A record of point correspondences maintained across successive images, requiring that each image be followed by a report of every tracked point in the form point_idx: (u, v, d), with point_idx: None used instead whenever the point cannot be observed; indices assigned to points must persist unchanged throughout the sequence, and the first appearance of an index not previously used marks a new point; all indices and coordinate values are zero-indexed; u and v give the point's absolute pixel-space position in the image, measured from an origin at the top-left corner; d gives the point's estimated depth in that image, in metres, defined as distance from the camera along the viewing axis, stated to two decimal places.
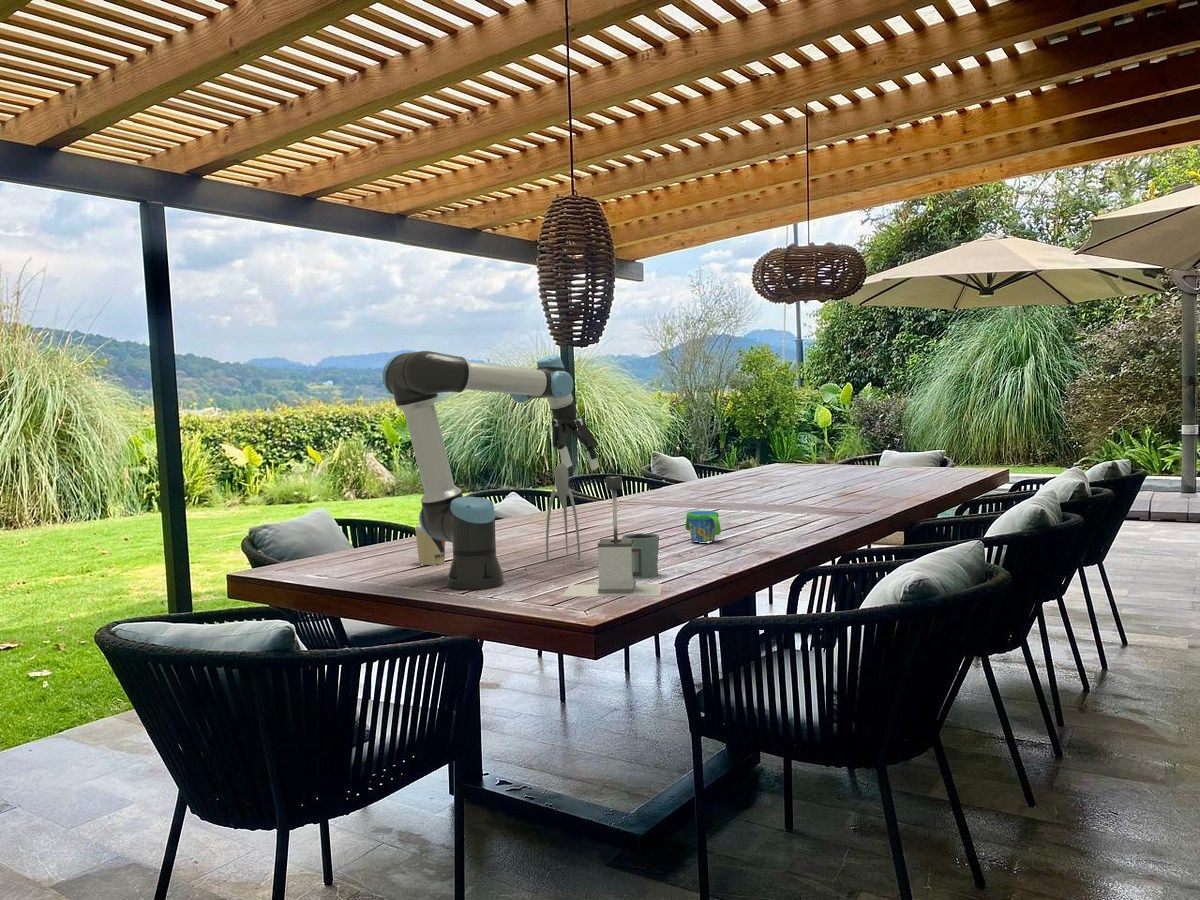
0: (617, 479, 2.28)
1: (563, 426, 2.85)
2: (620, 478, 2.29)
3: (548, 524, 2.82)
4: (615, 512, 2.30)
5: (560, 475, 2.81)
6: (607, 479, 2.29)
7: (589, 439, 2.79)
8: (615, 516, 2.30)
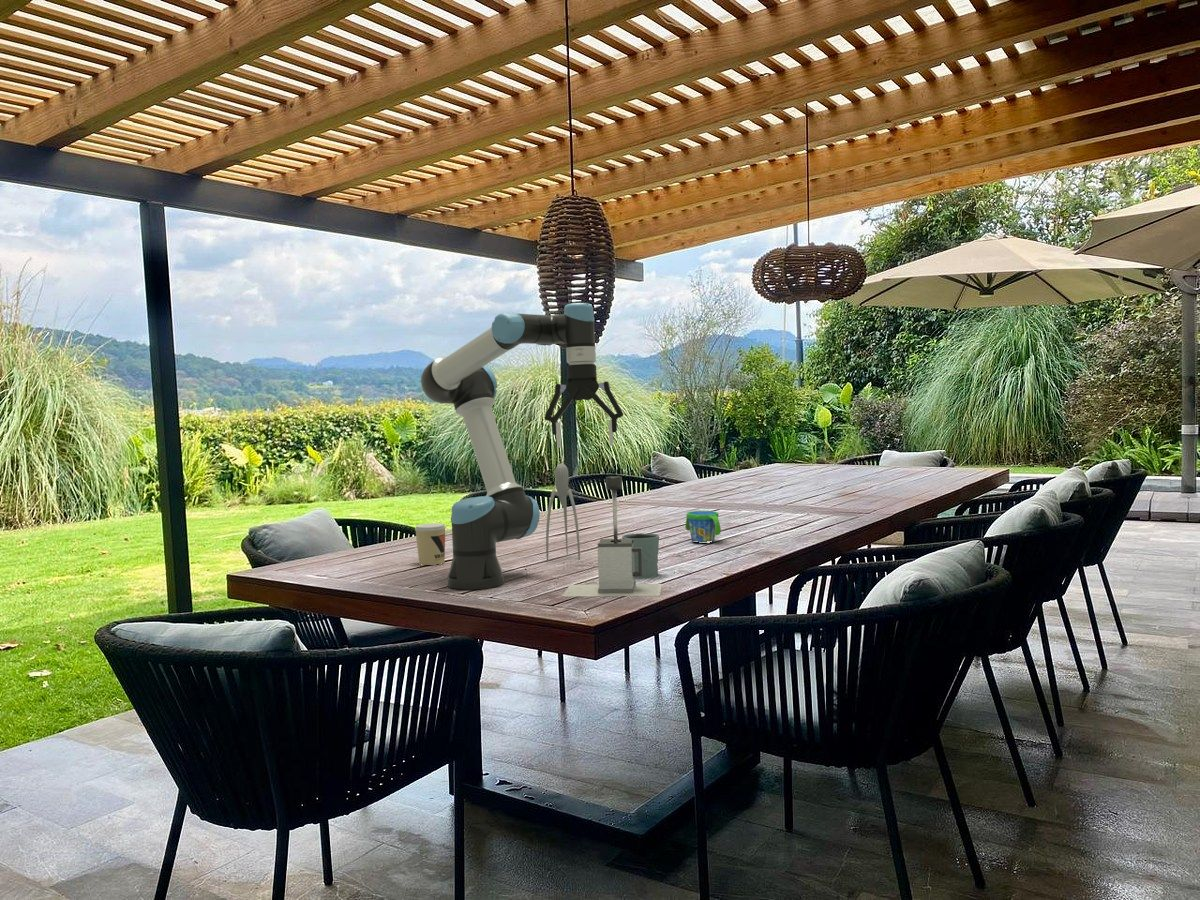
0: (617, 479, 2.28)
1: None
2: (620, 478, 2.29)
3: (548, 524, 2.82)
4: (615, 512, 2.30)
5: (560, 475, 2.81)
6: (607, 479, 2.29)
7: None
8: (615, 516, 2.30)
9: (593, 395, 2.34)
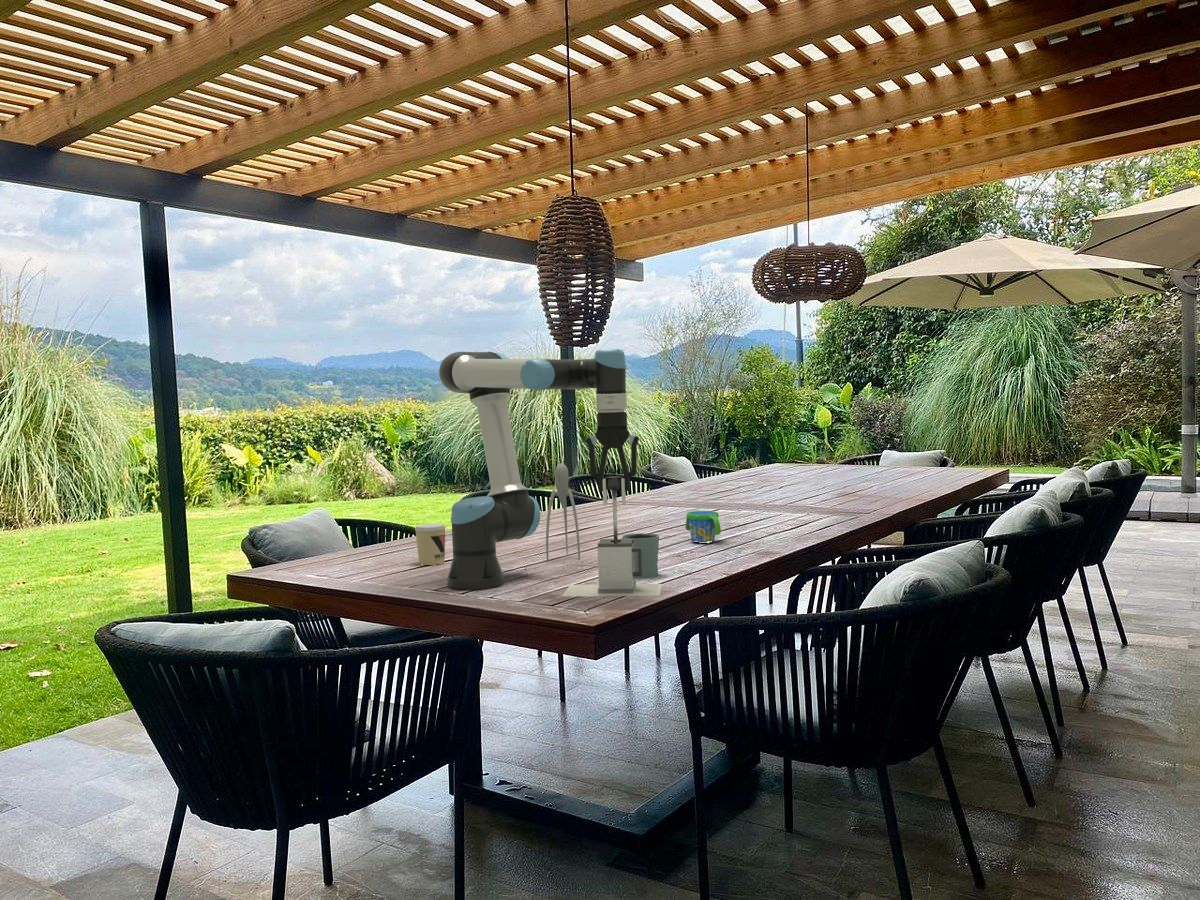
0: (617, 479, 2.28)
1: None
2: (620, 478, 2.29)
3: (548, 524, 2.82)
4: (615, 512, 2.30)
5: (560, 475, 2.81)
6: (607, 479, 2.29)
7: None
8: (615, 516, 2.30)
9: (619, 446, 2.28)
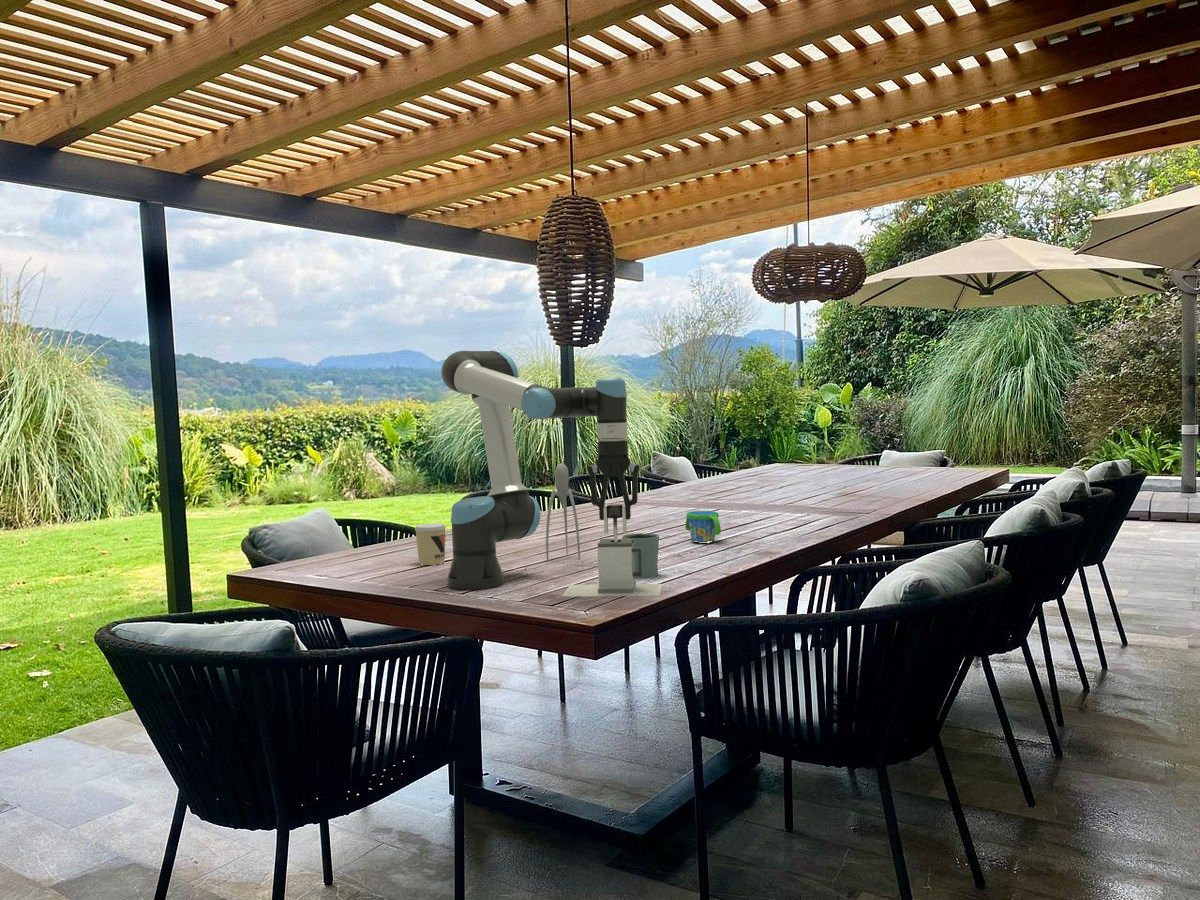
0: (618, 507, 2.28)
1: None
2: (621, 506, 2.29)
3: (548, 524, 2.82)
4: (616, 540, 2.30)
5: (560, 475, 2.81)
6: (608, 507, 2.29)
7: None
8: None
9: (620, 475, 2.28)
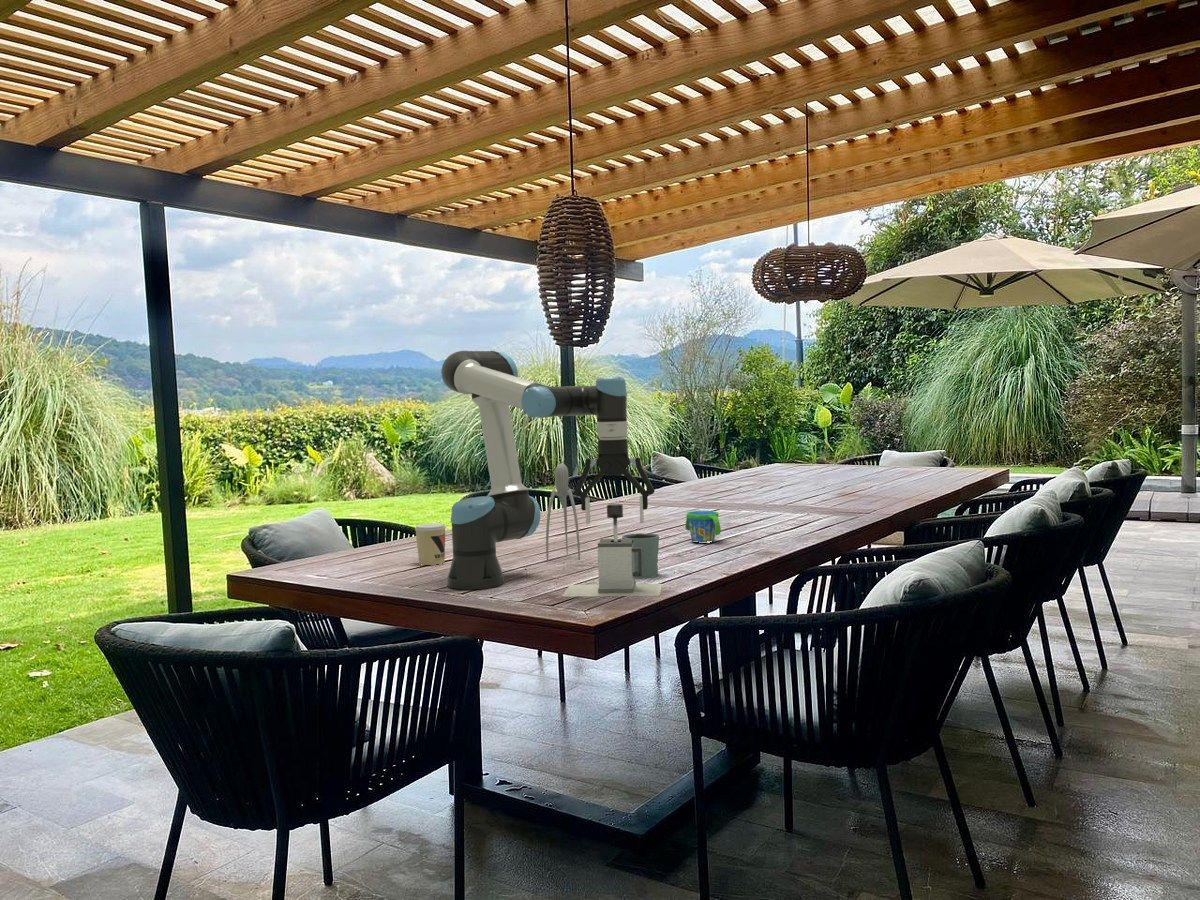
0: (618, 507, 2.28)
1: None
2: (621, 506, 2.29)
3: (548, 524, 2.82)
4: (616, 540, 2.30)
5: (560, 475, 2.81)
6: (608, 507, 2.29)
7: None
8: None
9: (624, 472, 2.28)
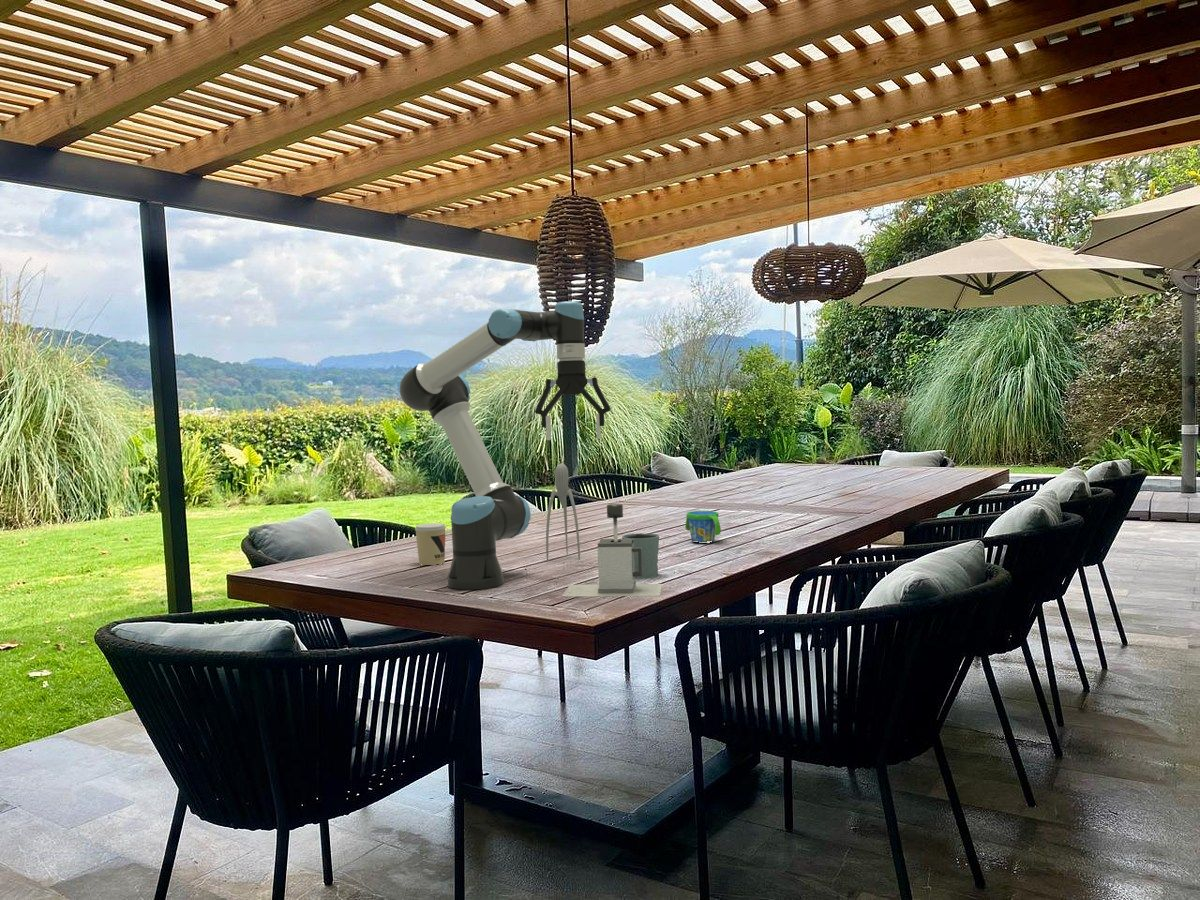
0: (618, 507, 2.28)
1: None
2: (621, 506, 2.29)
3: (548, 524, 2.82)
4: (616, 540, 2.30)
5: (560, 475, 2.81)
6: (608, 507, 2.29)
7: None
8: None
9: (582, 390, 2.44)
